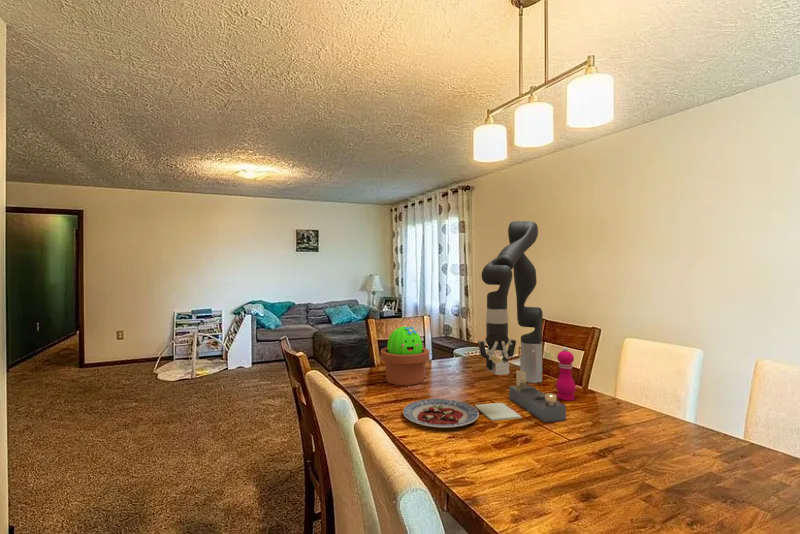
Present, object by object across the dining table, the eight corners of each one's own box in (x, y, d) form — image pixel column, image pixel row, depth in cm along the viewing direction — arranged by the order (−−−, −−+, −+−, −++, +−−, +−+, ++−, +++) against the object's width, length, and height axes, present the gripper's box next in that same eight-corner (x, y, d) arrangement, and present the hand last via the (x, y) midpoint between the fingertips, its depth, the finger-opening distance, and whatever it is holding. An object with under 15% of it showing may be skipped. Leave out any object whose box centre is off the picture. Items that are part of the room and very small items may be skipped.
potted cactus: (375, 375, 187) (375, 323, 187) (419, 372, 194) (419, 321, 194) (388, 389, 166) (388, 330, 166) (436, 384, 173) (436, 327, 173)
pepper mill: (572, 395, 158) (571, 345, 158) (578, 401, 151) (578, 349, 151) (553, 394, 159) (553, 345, 159) (558, 400, 152) (558, 348, 152)
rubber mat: (474, 406, 146) (474, 404, 146) (502, 404, 148) (502, 402, 148) (491, 420, 132) (491, 419, 132) (521, 418, 134) (521, 416, 134)
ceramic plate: (478, 436, 120) (478, 426, 120) (396, 430, 125) (396, 420, 125) (478, 407, 146) (478, 399, 146) (410, 402, 151) (410, 394, 151)
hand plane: (509, 398, 154) (509, 370, 154) (527, 397, 156) (527, 369, 156) (544, 422, 131) (544, 389, 131) (565, 420, 132) (565, 387, 132)
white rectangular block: (485, 369, 143) (485, 355, 143) (498, 368, 144) (498, 355, 144) (495, 375, 135) (495, 361, 135) (509, 374, 137) (509, 360, 137)
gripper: (510, 319, 145) (510, 365, 145) (473, 320, 142) (474, 367, 142) (520, 322, 138) (521, 370, 138) (482, 323, 135) (482, 373, 135)
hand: (497, 369), depth 140 cm, fingers closed on white rectangular block, 5 cm apart
